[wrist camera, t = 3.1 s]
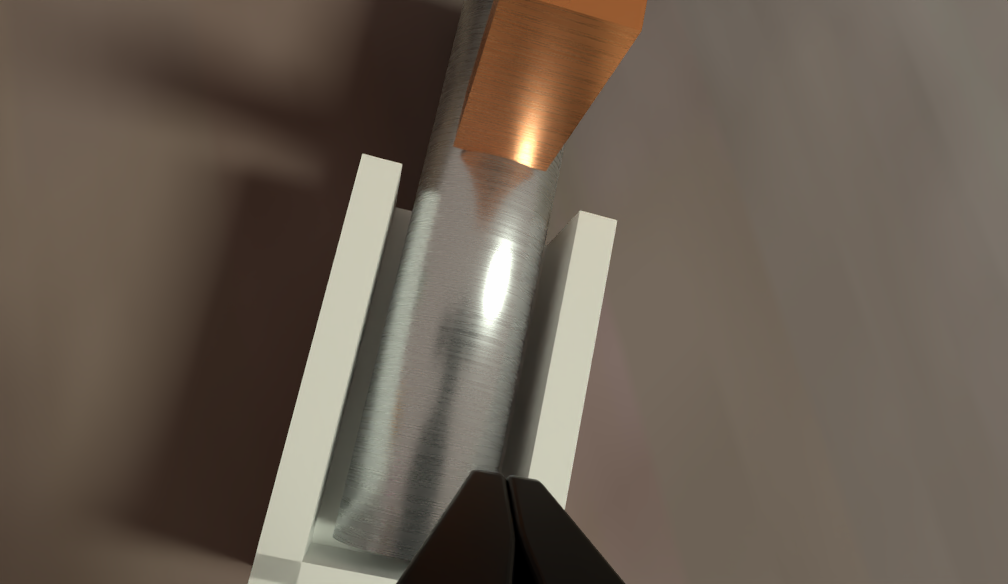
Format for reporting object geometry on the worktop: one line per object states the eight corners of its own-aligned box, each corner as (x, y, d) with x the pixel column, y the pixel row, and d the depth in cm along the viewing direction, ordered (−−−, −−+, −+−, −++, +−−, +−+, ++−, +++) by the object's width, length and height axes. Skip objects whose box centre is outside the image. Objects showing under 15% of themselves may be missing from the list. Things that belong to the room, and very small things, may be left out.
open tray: (503, 614, 22) (538, 654, 18) (266, 569, 21) (243, 601, 17) (571, 259, 24) (617, 220, 20) (361, 206, 23) (362, 153, 19)
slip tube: (468, 554, 21) (568, 653, 11) (334, 528, 20) (311, 607, 10) (577, 28, 24) (727, -259, 15) (465, -5, 24) (541, -324, 14)
